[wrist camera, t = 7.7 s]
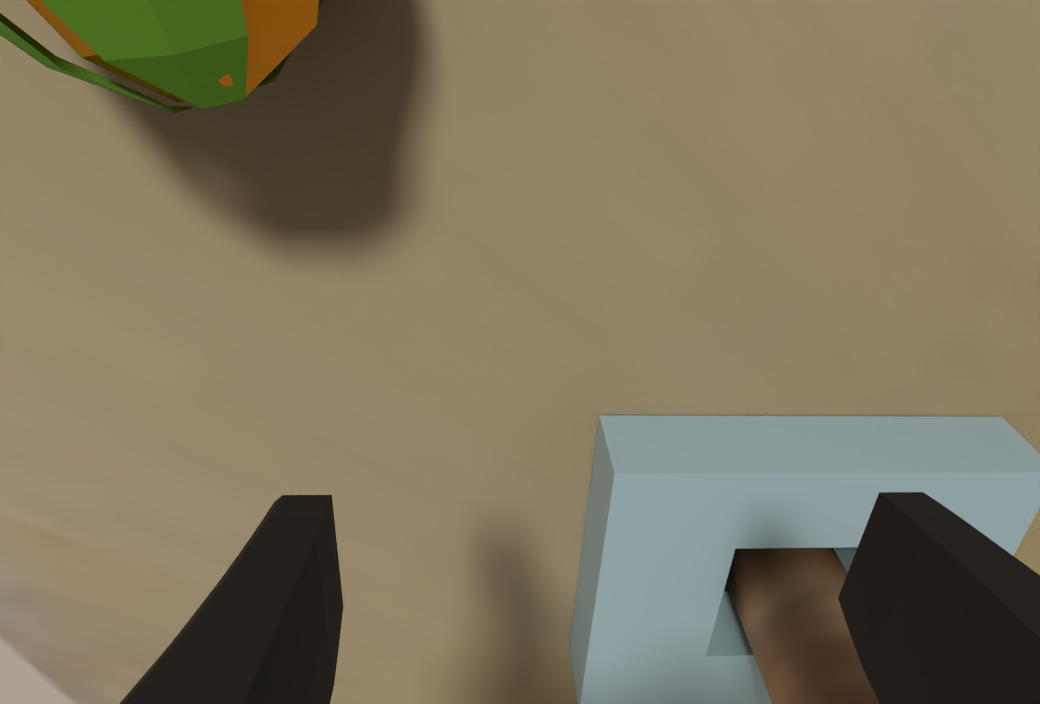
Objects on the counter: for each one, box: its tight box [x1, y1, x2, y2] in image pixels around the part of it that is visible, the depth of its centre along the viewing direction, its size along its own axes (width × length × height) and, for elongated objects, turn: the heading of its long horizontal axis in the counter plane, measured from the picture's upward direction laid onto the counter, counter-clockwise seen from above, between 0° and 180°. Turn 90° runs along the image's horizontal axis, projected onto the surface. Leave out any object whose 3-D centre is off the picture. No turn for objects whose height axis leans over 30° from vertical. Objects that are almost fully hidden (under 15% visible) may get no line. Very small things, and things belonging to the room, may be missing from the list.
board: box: [569, 415, 1040, 704], centre depth 23 cm, size 12×10×2 cm
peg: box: [726, 548, 880, 704], centre depth 21 cm, size 3×3×7 cm
